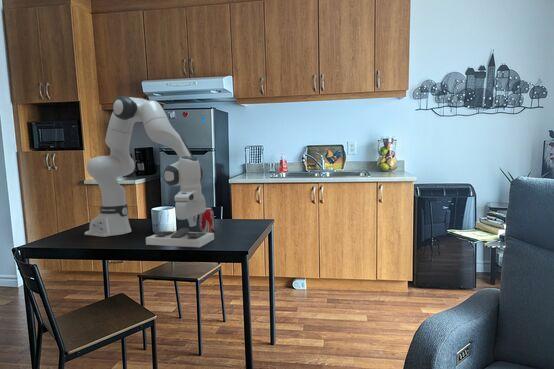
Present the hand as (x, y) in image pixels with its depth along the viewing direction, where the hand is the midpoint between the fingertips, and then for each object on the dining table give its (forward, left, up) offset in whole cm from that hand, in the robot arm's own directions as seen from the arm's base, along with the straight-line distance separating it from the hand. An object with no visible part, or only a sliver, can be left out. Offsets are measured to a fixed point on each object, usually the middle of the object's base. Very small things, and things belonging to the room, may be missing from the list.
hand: (192, 226), depth 162 cm
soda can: (-5, +23, -8) cm, 25 cm away
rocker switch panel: (-8, +3, -8) cm, 12 cm away
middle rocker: (-8, +3, -5) cm, 10 cm away
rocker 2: (0, +3, -5) cm, 6 cm away
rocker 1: (-16, +3, -5) cm, 17 cm away
